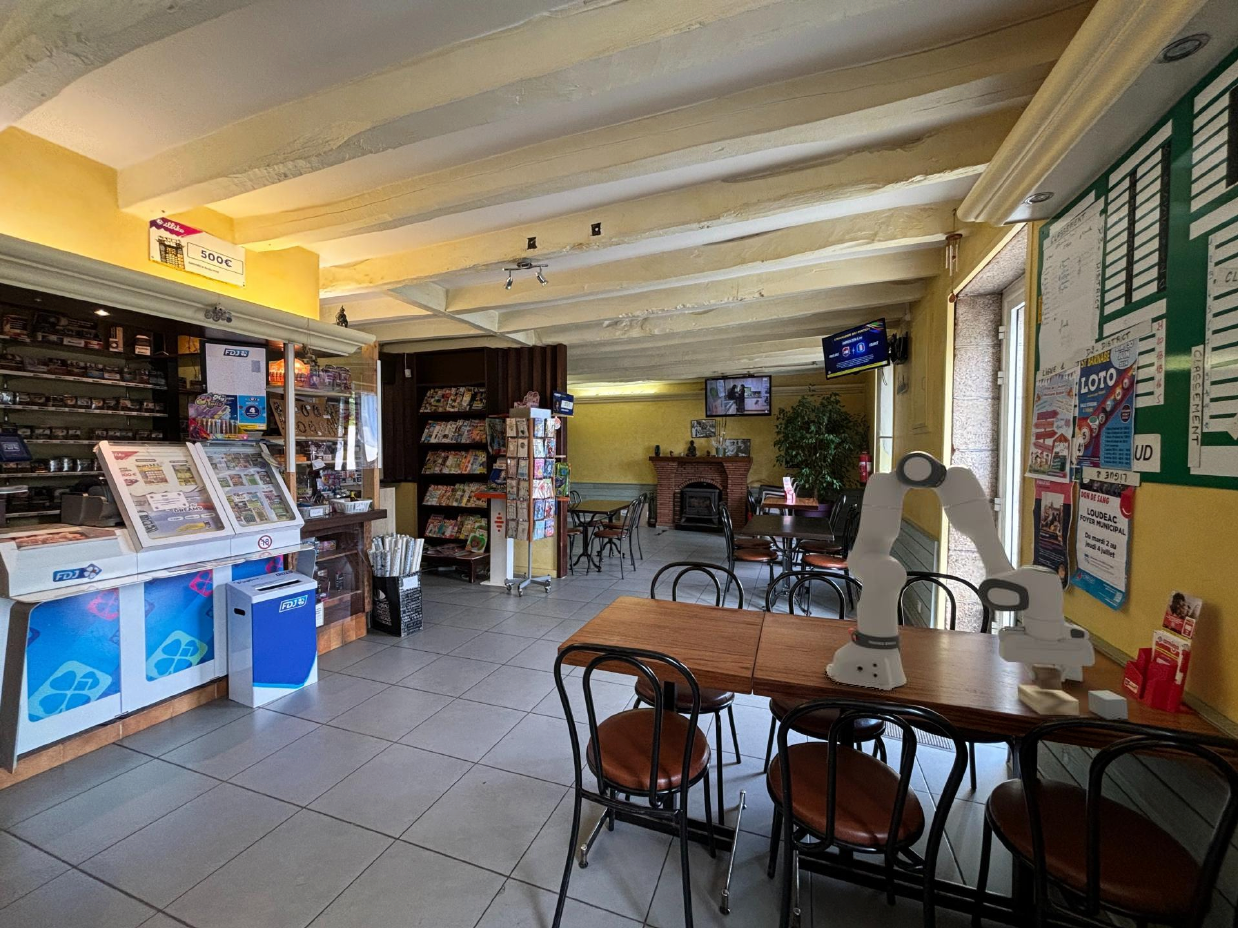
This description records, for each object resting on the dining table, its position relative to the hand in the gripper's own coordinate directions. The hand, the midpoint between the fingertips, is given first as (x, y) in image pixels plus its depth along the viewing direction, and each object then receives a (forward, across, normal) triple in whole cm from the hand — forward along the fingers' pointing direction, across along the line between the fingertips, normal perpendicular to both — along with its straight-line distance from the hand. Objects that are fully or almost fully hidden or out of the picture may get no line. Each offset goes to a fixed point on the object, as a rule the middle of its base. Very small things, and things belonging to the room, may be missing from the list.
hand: (1046, 679), depth 135 cm
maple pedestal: (+7, 0, 0) cm, 7 cm away
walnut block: (+2, 0, 0) cm, 2 cm away
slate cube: (+7, +12, -2) cm, 14 cm away
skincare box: (+7, +15, +22) cm, 27 cm away
